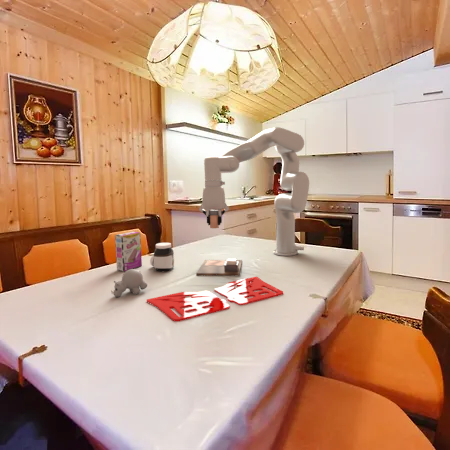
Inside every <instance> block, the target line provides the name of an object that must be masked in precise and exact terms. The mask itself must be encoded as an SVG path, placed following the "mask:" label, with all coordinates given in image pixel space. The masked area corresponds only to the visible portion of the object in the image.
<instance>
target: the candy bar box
mask: <svg viewBox="0 0 450 450" xmlns="http://www.w3.org/2000/svg"><path fill="white" fill-rule="evenodd" d="M114 243H115V244H114V245H115V256H116V259H115V260H116V261H115V262H116V271H118V270H119V272H122V271H125V272H126V271H127V270H129V269H133V268H134V269H136V268H139V267H142V266H143V262H142V261H143V260H142V241H141V232H140V231H139V232H138V231H129V232H124V233H118V234H115V235H114Z"/></svg>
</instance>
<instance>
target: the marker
mask: <svg viewBox="0 0 450 450" xmlns="http://www.w3.org/2000/svg"><path fill="white" fill-rule="evenodd" d="M209 215H210V225H209V227H210V229H219V228H220V225H218V216H219V213H218V210H209Z"/></svg>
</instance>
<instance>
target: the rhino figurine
mask: <svg viewBox="0 0 450 450" xmlns="http://www.w3.org/2000/svg"><path fill="white" fill-rule="evenodd" d="M113 283H114V286H113V287H114V289H111V290H110V292H111V294H112V295H113V296H114V297H116V298H119V297H121V296H122V294H123V293H124V292H126V290H128V289H129V292H131V293H133V294H134V295H137V294H139V293H140V292H141V290H145V289H146V288H147V287H148V283H147V282H146V281H145V280H144V278H143V275H142V272H141V270H138V269H136V268H134V269H129V270H127V271H125V272H123V273H122V275H121V280H119V281H116V280H114V281H113Z"/></svg>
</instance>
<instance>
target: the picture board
mask: <svg viewBox="0 0 450 450" xmlns="http://www.w3.org/2000/svg"><path fill="white" fill-rule="evenodd" d="M236 260H237V262H239V269H238V272H224V265H225V262H226V261H227V259H205V260H204V261H203V262H202V264H201V265H200V267H199V268H198V270H197V271H196V273H195V275H196V276H199V275H203V276H204V275H205V276H206V277H207V276H208V277H209V276H210V277H211V276H212V277H214V276H216V277H217V276H218V277H221V276H224V277H225V276H227V277H228V276H229V277H239V276H240V273H241V270H242V269H241V268H242V265H243V259H236ZM203 276H202V277H203Z"/></svg>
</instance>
